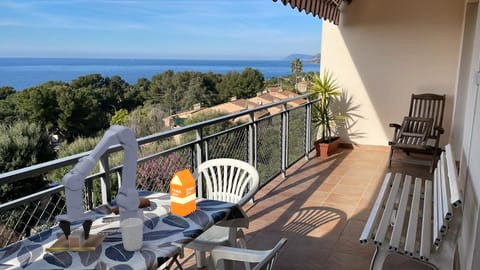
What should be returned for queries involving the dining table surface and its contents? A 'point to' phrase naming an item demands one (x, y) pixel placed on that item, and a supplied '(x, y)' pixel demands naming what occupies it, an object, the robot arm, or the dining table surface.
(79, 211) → the robot arm
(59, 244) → the shelf board
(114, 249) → the dining table surface
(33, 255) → the dining table surface
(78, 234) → the carton
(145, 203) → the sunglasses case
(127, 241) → the white cup
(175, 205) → the orange juice
